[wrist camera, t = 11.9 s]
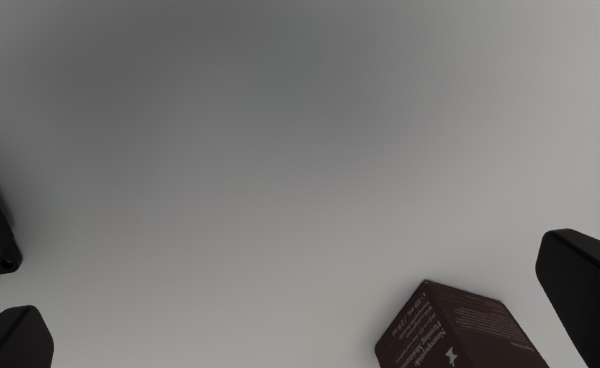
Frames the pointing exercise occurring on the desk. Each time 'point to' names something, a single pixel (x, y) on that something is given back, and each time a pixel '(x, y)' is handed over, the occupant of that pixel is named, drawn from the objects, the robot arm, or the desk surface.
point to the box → (455, 334)
